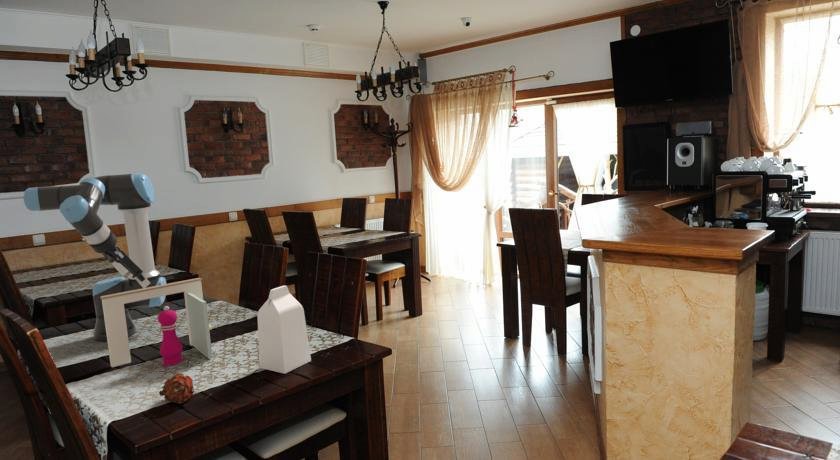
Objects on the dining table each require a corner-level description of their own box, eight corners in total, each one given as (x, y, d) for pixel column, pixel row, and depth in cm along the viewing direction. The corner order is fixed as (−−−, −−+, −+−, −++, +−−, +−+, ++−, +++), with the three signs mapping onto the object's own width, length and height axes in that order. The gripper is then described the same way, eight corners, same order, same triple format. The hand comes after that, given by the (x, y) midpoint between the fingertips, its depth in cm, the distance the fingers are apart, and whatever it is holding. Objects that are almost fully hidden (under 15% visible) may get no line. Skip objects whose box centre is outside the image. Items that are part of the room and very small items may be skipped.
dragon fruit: (184, 414, 155) (172, 406, 164) (206, 388, 159) (193, 383, 168) (161, 395, 151) (150, 389, 161) (184, 370, 156) (172, 365, 165)
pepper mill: (187, 357, 195) (180, 302, 193) (180, 365, 188) (173, 308, 186) (165, 359, 195) (159, 304, 192) (158, 367, 188) (151, 309, 185)
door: (208, 358, 192) (202, 302, 189) (192, 344, 207) (186, 292, 205) (216, 356, 193) (210, 300, 190) (199, 343, 209) (193, 291, 206)
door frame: (109, 366, 191) (100, 296, 188) (206, 340, 214) (199, 277, 210) (111, 367, 189) (102, 297, 186) (208, 341, 212) (202, 278, 208)
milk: (285, 373, 176) (277, 293, 172) (259, 367, 182) (252, 290, 179) (311, 360, 186) (304, 284, 183) (286, 355, 192) (279, 282, 189)
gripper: (70, 234, 184) (108, 275, 199) (110, 256, 171) (147, 299, 186) (90, 219, 188) (125, 260, 203) (130, 240, 175) (164, 283, 190)
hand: (136, 279), depth 194 cm, fingers open, 13 cm apart
